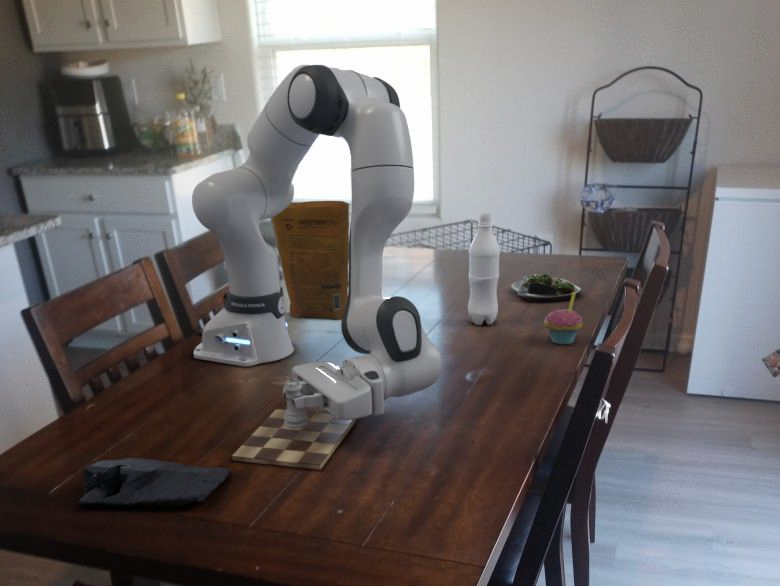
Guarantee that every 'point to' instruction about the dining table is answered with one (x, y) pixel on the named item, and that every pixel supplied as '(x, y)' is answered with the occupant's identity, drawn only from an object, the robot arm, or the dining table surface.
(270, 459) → the chessboard
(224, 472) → the dark slate chunk
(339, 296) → the pancake mix bag
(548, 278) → the salad plate
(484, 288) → the water bottle
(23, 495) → the dining table surface
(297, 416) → the rook chess piece
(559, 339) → the cupcake
